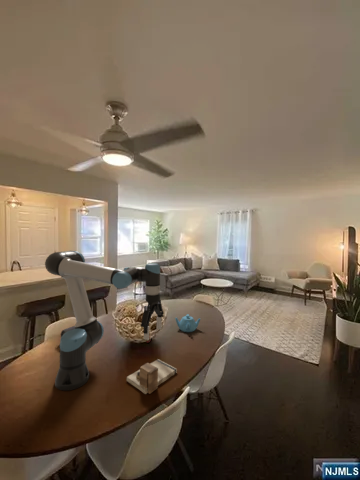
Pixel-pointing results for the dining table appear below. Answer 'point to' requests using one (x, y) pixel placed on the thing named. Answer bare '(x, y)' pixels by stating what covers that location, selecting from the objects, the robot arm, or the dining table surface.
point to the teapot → (187, 323)
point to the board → (163, 374)
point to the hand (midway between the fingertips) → (153, 334)
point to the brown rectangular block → (148, 377)
